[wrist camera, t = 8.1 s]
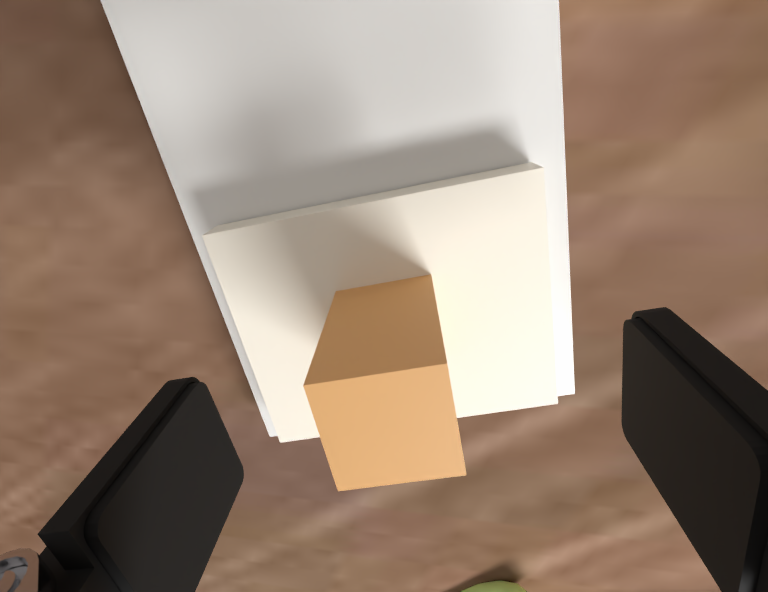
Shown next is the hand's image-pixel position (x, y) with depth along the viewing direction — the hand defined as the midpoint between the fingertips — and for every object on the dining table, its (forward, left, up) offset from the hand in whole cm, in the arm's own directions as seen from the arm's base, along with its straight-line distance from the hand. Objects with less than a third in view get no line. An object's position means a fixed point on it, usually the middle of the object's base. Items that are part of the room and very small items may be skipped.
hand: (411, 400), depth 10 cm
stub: (+1, 0, -6) cm, 6 cm away
